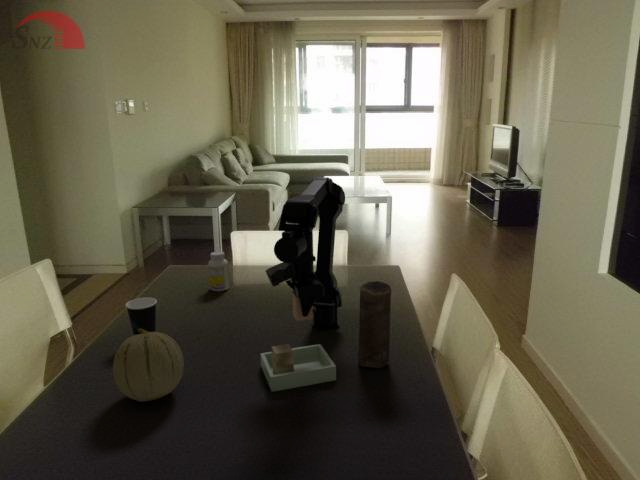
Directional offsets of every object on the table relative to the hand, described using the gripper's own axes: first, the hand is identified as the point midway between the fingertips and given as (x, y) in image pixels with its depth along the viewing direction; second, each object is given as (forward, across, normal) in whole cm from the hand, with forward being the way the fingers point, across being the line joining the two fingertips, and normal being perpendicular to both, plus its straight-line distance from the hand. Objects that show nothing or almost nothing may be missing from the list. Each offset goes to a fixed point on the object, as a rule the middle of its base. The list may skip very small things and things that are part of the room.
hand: (302, 313), depth 127 cm
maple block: (+11, +8, -7) cm, 15 cm away
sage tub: (+12, +8, -4) cm, 14 cm away
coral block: (+1, 0, 0) cm, 1 cm away
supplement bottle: (+11, -58, -15) cm, 61 cm away
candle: (+12, +10, +15) cm, 21 cm away
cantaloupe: (+12, +8, -36) cm, 39 cm away
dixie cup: (+12, -22, -39) cm, 46 cm away
